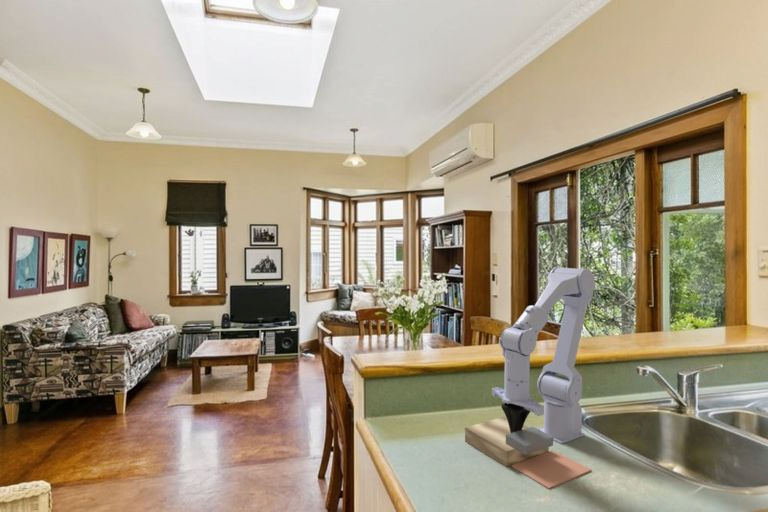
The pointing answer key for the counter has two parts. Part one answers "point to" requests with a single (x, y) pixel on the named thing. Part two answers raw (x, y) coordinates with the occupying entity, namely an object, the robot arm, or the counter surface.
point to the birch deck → (497, 441)
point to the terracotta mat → (551, 469)
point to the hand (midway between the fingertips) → (515, 434)
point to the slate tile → (529, 440)
